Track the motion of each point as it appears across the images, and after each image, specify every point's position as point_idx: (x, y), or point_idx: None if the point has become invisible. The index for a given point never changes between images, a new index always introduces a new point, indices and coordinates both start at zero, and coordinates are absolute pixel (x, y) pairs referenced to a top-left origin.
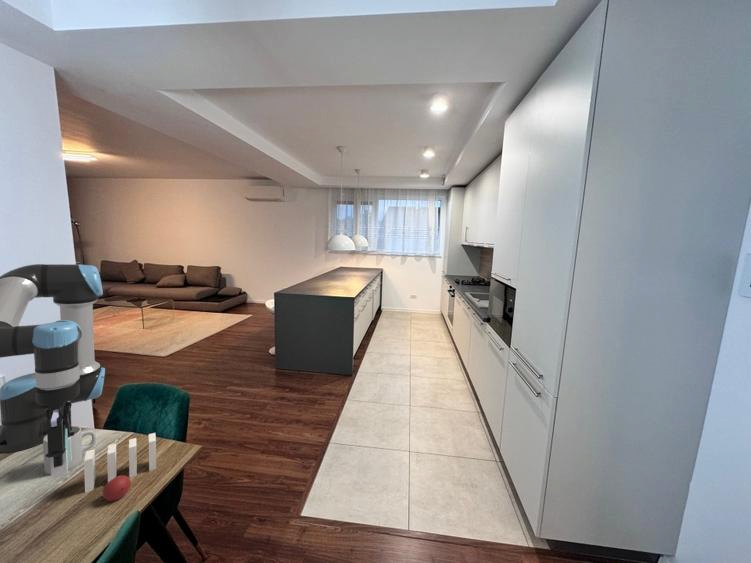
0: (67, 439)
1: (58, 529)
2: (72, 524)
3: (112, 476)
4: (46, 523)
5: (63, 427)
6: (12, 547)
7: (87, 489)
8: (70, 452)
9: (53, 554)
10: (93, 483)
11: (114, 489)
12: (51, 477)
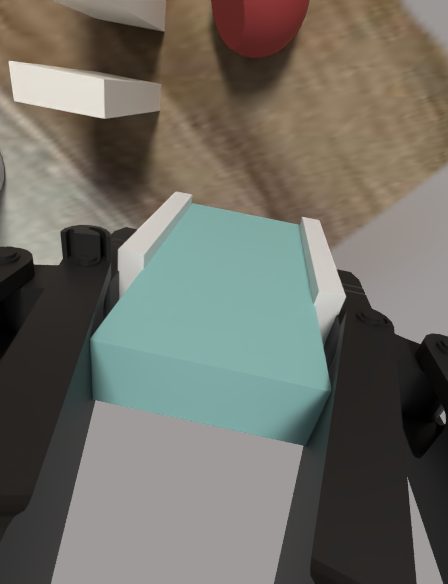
0: (149, 273)
1: (292, 186)
2: (301, 155)
3: (154, 5)
4: (239, 209)
5: (406, 580)
6: None
7: (158, 103)
8: (178, 214)
9: (388, 201)
10: (149, 82)
11: (300, 6)
12: None
